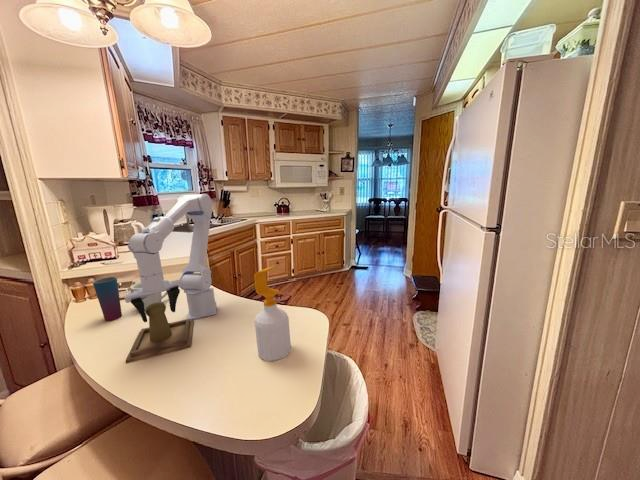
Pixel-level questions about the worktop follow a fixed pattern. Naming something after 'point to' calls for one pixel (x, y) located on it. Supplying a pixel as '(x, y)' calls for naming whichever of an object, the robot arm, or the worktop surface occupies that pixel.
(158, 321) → the olive-green waisted figurine
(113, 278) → the cup
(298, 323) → the worktop surface
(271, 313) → the soap bottle
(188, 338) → the spice tray
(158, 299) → the mug
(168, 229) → the robot arm
